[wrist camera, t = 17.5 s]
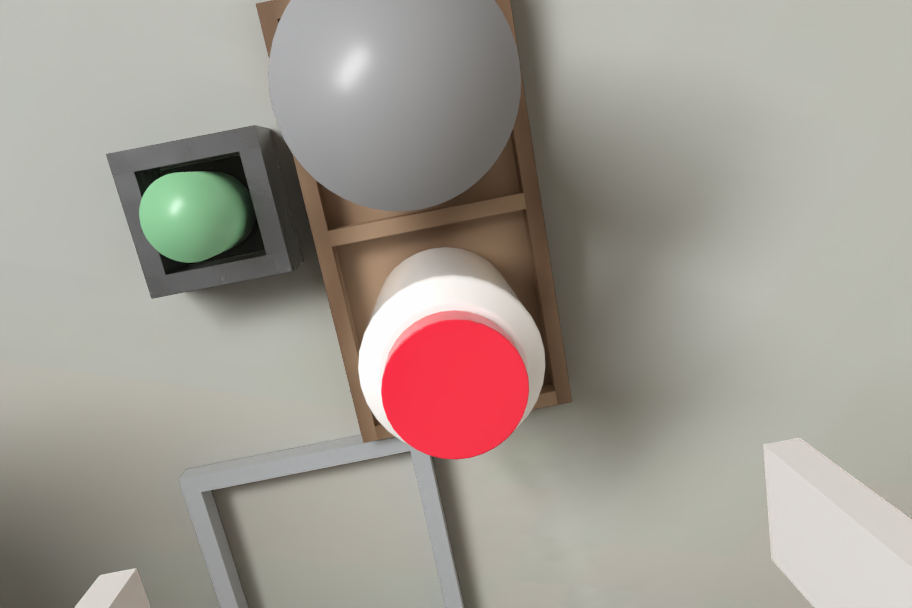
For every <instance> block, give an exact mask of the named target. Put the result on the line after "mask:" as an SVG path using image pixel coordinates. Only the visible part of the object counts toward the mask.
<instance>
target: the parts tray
mask: <svg viewBox="0 0 912 608" xmlns="http://www.w3.org/2000/svg"><path fill="white" fill-rule="evenodd" d="M408 451H410V452H411V456H412V460H413V465H414V469H415V474H416V478H417V483H418V487H419V491H420V496H421V500H422V505H423V509H424V514H425V518H426V522H427V527H428V531H429V536H430V540H431V544H432V549H433V553H434V558H435V562H436V567H437V571H438V575H439V580H440V584H441V589H442V593H443V598H444V602H445V606H446V608H465V607H464V603H463V598H462V594H461V589H460V584H459V580H458V575H457V571H456V566H455V561H454V557H453V552H452V548H451V543H450V538H449V534H448V529H447V525H446V520H445V516H444V511H443V506H442V502H441V497H440V493H439V488H438V483H437V479H436V474H435V470H434V465H433V460H432V456H430V455H427V454H425V453H423V452H420V451H418V450H416V449H414V448H413V447H412V446H410V445H409V444H406V443H404V442H402V441H401V440H399V439H398V438H397V437H391V438H386V439H381V440H376V441H371V442H366V443H363V439H362V435H359V436H354V437H349V438H343V439H338V440H333V441H328V442H323V443H318V444H313V445H308V446H303V447H298V448H293V449H288V450H282V451H277V452H272V453H267V454H262V455H257V456H252V457H247V458H242V459H237V460H232V461H227V462H221V463H216V464H211V465H206V466H201V467H196V468H191V469H186V471H185V472H184V473H183V475H182V476H181V477H180V478H179V483H180V486H181V489H182V492H183V496H184V499H185V502H186V505H187V508H188V511H189V514H190V517H191V520H192V523H193V526H194V529H195V532H196V535H197V538H198V541H199V544H200V547H201V550H202V553H203V556H204V559H205V562H206V565H207V568H208V571H209V575H210V578H211V581H212V584H213V587H214V590H215V593H216V596H217V599H218V602H219V605H220V608H248V605H247V602H246V599H245V595H244V592H243V589H242V586H241V583H240V580H239V577H238V573H237V570H236V567H235V564H234V561H233V558H232V554H231V551H230V548H229V545H228V542H227V539H226V535H225V532H224V529H223V526H222V523H221V520H220V516H219V513H218V510H217V507H216V504H215V501H214V497H213V494H212V491H211V490H215V489H220V488H225V487H230V486H235V485H240V484H246V483H251V482H256V481H261V480H266V479H271V478H276V477H281V476H286V475H291V474H296V473H301V472H306V471H312V470H317V469H322V468H327V467H332V466H337V465H342V464H347V463H352V462H357V461H362V460H367V459H372V458H378V457H383V456H388V455H393V454H398V453H403V452H408Z"/></svg>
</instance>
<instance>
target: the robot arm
mask: <svg viewBox="0 0 912 608" xmlns="http://www.w3.org/2000/svg"><path fill="white" fill-rule="evenodd" d="M763 448H764V462H765V476H766V490H767V504H768V518H769V532H770V546H771V559H772V560H773V561H774V563H775V564H776V565H777V566H778V567H779V568H780V569H781V570H782V572H783V573H784V574H785V575H786V576H787V577H788V578H789V580H790V581H791V582H792V583H793V584H794V585H795V586H796V587H797V589H798V590H799V591H800V592H801V593H802V594H803V595H804V597H805V598H806V599H807V600H808V601H809V602H810V603H811V605H812V606H813V607H814V608H912V519H910V518H909V517H908V516H906V515H905V514H903V513H902V512H901V511H899V510H898V509H897V508H895V507H894V506H892V505H891V504H890V503H888V502H887V501H886V500H884V499H883V498H881V497H880V496H879V495H877V494H876V493H875V492H873V491H872V490H871V489H869V488H868V487H866V486H865V485H864V484H862V483H861V482H860V481H858V480H857V479H855V478H854V477H853V476H851V475H850V474H849V473H847V472H846V471H845V470H843V469H842V468H840V467H839V466H838V465H836V464H835V463H834V462H832V461H831V460H829V459H828V458H827V457H825V456H824V455H823V454H821V453H820V452H818V451H817V450H816V449H814V448H813V447H812V446H810V445H809V444H808V443H806V442H805V441H803V440H802V439H801V438H795V439H789V440H784V441H779V442H774V443H769V444H764V445H763ZM74 608H151V607H150V604H149V601H148V598H147V596H146V593H145V590H144V587H143V584H142V582H141V579H140V576H139V573H138V570H137V568H133V569H128V570H123V571H118V572H113V573H108V574H103V575H99V577H98V578H97V579H96V580H95V582H94V583H93V584H92V586H91V587H90V588H89V589H88V591H87V592H86V593H85V595H84V596H83V597H82V598H81V600H80V601H79V602H78V604H77V605H76V606H75V607H74Z"/></svg>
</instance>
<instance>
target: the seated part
mask: <svg viewBox="0 0 912 608" xmlns="http://www.w3.org/2000/svg"><path fill="white" fill-rule="evenodd" d="M268 75H269V92H270V97H271V103H272V108H273V112H274V115H275V118H276V121H277V124H278V127H279V129H280V131H281V133H282V136H283V138H284V140H285V142H286V143H287V145H288V147H289V148H290V150H291V152H292V153H293V155H294V156H295V158H296V159H297V160H298V161H299V163H300V164H301V165H302V166H303V168H304V169H305V170H306V171H307V172H308V173H309V174H310V175H311V176H312V177H313V178H314V179H315V180H316V181H318V182H319V183H320V184H322V185H323V186H324V187H326V188H327V189H328V190H330V191H331V192H333V193H335V194H337V195H338V196H340V197H342V198H344V199H346V200H348V201H351V202H353V203H355V204H358V205H361V206H365V207H368V208H372V209H377V210H384V211H412V210H420V209H424V208H428V207H432V206H436V205H438V204H441V203H443V202H446V201H448V200H451V199H452V198H454V197H456V196H458V195H459V194H461V193H463V192H465V191H466V190H467V189H468V188H470V187H471V186H472V185H474V184H475V183H476V182H477V181H478V180H479V179H480V178H481V177H482V176H484V175H485V174H486V173H487V172H488V171H489V169H490V168H491V167H492V165H493V164H494V163H495V161H496V160H497V159H498V158H499V156H500V154H501V152H502V151H503V149H504V147H505V146H506V144H507V142H508V139H509V137H510V135H511V132H512V130H513V127H514V124H515V121H516V117H517V114H518V108H519V102H520V96H521V72H520V61H519V56H518V52H517V47H516V43H515V40H514V37H513V34H512V32H511V29H510V26H509V24H508V22H507V20H506V18H505V16H504V14H503V12H502V11H501V9H500V8H499V6H498V5H497V3H496V2H495V0H291V1H290V2H289V4H288V5H287V7H286V9H285V11H284V13H283V15H282V17H281V19H280V21H279V23H278V26H277V29H276V32H275V35H274V38H273V42H272V47H271V52H270V58H269V73H268Z"/></svg>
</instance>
